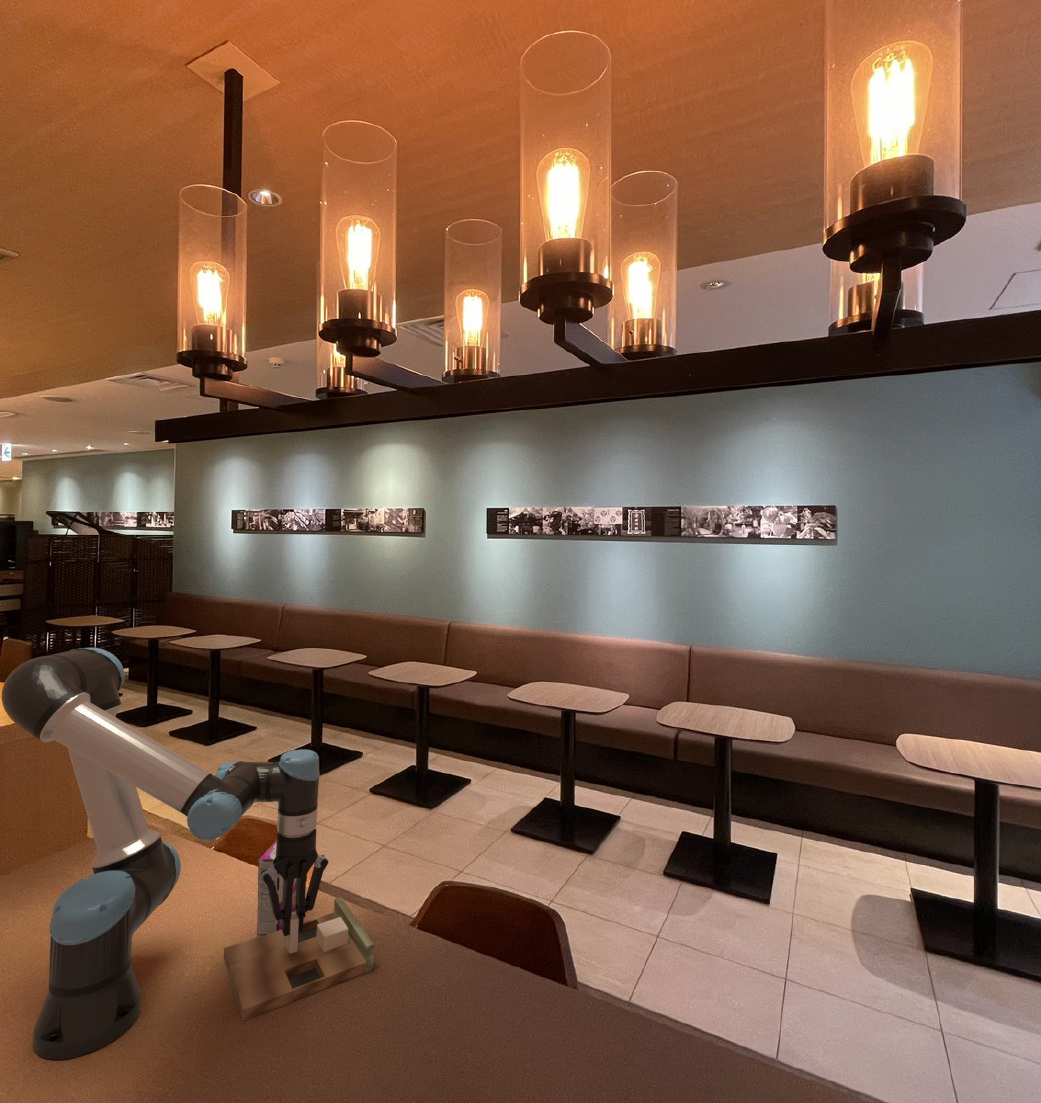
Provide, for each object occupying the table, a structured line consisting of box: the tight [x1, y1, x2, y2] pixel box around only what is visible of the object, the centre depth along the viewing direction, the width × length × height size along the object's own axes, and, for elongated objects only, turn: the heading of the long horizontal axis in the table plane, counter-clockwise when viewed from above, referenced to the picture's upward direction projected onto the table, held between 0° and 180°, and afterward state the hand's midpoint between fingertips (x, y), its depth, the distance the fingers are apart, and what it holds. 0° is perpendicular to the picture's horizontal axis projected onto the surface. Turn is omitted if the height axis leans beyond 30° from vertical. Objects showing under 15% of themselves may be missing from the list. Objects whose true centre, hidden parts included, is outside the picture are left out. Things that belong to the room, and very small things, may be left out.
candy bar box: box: [256, 839, 297, 936], centre depth 133 cm, size 11×5×16 cm, turn 179°
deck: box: [223, 896, 375, 1022], centre depth 119 cm, size 24×20×5 cm
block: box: [317, 917, 348, 952], centre depth 123 cm, size 5×5×3 cm
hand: (291, 948), depth 118 cm, fingers closed
